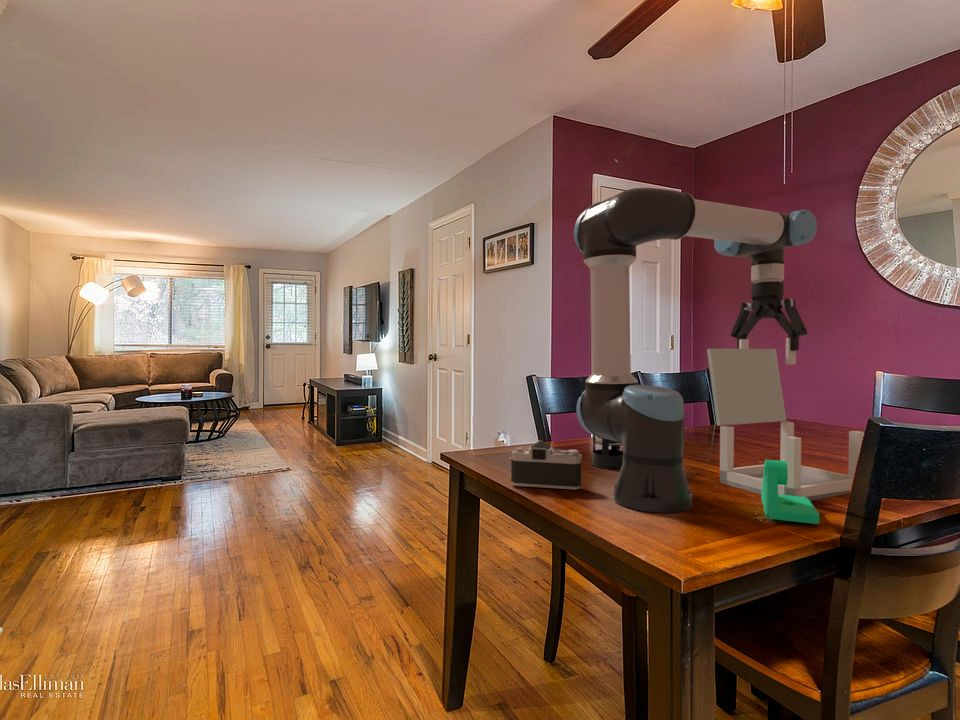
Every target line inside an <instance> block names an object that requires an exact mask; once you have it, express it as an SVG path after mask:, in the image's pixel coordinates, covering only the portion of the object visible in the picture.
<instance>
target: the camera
mask: <svg viewBox="0 0 960 720" xmlns="http://www.w3.org/2000/svg"><path fill="white" fill-rule="evenodd" d="M582 458H583V455H582V454H581V453H579V450H577V449H568V450H566V449H565V450H564V449H563V450H562V449H558V448H557V449H556V448H554V447H553V446H552V445H550V444H549V443H547V442H545V441H543V440H542V439H540V440H538V441H537V442H535V443H533V444H532V445H530V446H529V448H528V450H524V448H523V447H516V448H515V450H512V451H511V458H510V459H511V460H510V462H511V464H510V465H511V473H510V474H511V476H510V477H511V478H510V479H511V480H510V483H511V485H513V486H515V487H529V488H547V489H561V490H562V489H563V490H564V489H565V490H580V489H581V486H582Z"/></svg>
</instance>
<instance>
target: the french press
mask: <svg viewBox="0 0 960 720" xmlns="http://www.w3.org/2000/svg"><path fill="white" fill-rule="evenodd" d="M596 445H599V446H601V448H599V449H596ZM621 446H623V443H619V442H615V441H612V440H608V439H607V440H606V439H601V438H596V436H595V435H592V461H591V465H593V466H594V467H597V468H600V469H601V468H602V469H610V470H611V469H612V470H614V469H615V470H616V469H617V470H618V469H620V470H621V467H622V464H623V450H620V447H621Z"/></svg>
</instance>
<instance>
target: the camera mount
mask: <svg viewBox="0 0 960 720" xmlns="http://www.w3.org/2000/svg"><path fill="white" fill-rule="evenodd" d="M763 465H764V473H763V483H762V495H761V494H760V495H761V497H760V498H761V499H760V501H761V503H762V505H763V512H764V514H765V516H766V518H769V519H771V520H779V521H785V522H787V521H788V522H797V523H805V524H815V525H817V524H820V513H819V511H818V510H817V508H816V507H815V506H814V504H813V503H812V501H809V499H808V498H806V497H801V496H790V495H780V494H778V485H787V481H788V469H787V463H786V461H780V460H776V459H775V460H773V459H765V460H764V464H763Z"/></svg>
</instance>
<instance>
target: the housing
mask: <svg viewBox="0 0 960 720" xmlns="http://www.w3.org/2000/svg"><path fill="white" fill-rule="evenodd" d="M719 430H720V433H719V483H720V484H724V485H727V486H730V487H734V488H737V489H741V490H743V491H747V492H751V493H755V494H757V495H758V494H759V495H762V483H763V473H764V464H757V465H749V466H739V467H734V466H735V465H734V460H735V459H734V457H735V455H734V454H735V453H734V452H735V451H734V450H735V449H734V447H735V446H734V445H735V443H734V442H735V427H734V426H731V425H720V426H719ZM864 432H865V431H859V430H849V431H848V467H847V469H848V472H847V473H848V474H844V473H839V472H834V471H831V470H830V471H829V470H825V469H820V468H816V467H812V466H807V465H803V464H802V437H797V436H795V422H792V421H780V449H779V450H780V453H779V454H780V455H779V456H780V458H779V459H780V460H779V461H786V463H787V469H788V481H787V485H778V494H780V495H790V496H801V497H806V498H808V499H809V501H810V502H813V500H815V501H818V499H820V500H823V499H822V498H826V499H829V498H828V497H831V498H834V497H833V496H836V497H839V496H838V495H842V496H844V495H843V494H847V495H850V494H849V493H850V489H851V486H852V482H853V477H854V473H855V469H856V465H857V461H858V457H859V453H860V448H861V444H862V440H863V436H864Z"/></svg>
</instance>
